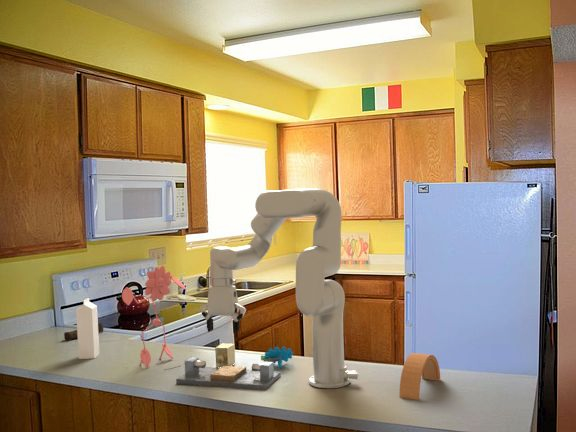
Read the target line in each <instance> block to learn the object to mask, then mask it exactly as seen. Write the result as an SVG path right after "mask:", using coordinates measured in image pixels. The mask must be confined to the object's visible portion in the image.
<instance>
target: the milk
mask: <svg viewBox="0 0 576 432" xmlns="http://www.w3.org/2000/svg"><path fill="white" fill-rule="evenodd" d="M75 312H76V313H75V314H76V330H77V335H78V338H77V350H78V351H77V353H78V354H77V355H78V360H89V359H91V360H92V359H96V358H97V357H98V356H99V355H100V342H99V341H100V339H99V338H100V337H99V333H98V323H99V321H98V320H99V319H98V305H96V304H94V303H93V302H91V301H90V298H89V297H87V298H85V299H84V300H83V304H82V305H80V306H79V307H77V308H75Z"/></svg>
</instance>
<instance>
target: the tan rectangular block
mask: <svg viewBox="0 0 576 432" xmlns="http://www.w3.org/2000/svg"><path fill="white" fill-rule="evenodd" d="M214 349H215V368H216V367H219V368H220V367H223V366H231V365H232V366H234V365H235V364H236V351H235V343H223V342H222V343H221V344H219V345H217V346H216V347H214ZM234 363H235V364H234ZM233 364H234V365H233Z"/></svg>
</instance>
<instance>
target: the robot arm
mask: <svg viewBox="0 0 576 432" xmlns="http://www.w3.org/2000/svg"><path fill="white" fill-rule="evenodd" d="M254 208H255V211H256V215H255V216H254V217H253V219H252V220H251V222H250V228H251V229H252V231H253V232H254V237H253V238H252V239H251V240H250V242H249V243H248V244H246V245H242V246H241V245H240V246H236V247H229V246H214V247H211V248H210V251H209V259H210V261H209V263H210V264H209V265H210V286H209V287H208V292H207V302H206V303H204V304H203V305H201V306H199V311H200V313H201V315H202V317H203V318H204V319H205V321H206V330H207V332H208V333H209V332H212V331H214V319H213V316H217V317H218V316H221V317H231V319H232V320H233V322H232V330H233V331H232V333H233V334H237V333H239V331H240V328H241V327H240V325H241V324H240V321H241V319H242V318H244V316H245V313H246V311H247V308H246V307H245V306H243V305H241V304H239V299H238V298H239V297H238V293H237V287H236V285H234V284H237V279H234V277H233V276H234V275H233V271H237V270H243V269H247V268H252V267H254V266H256V265H257V264H259V263H260V262H261V261H262V259H263V258H264V257H265V256H266V255H267V253H268V252H269V251H270V249H271V247H272V242H273V237H274V236H275V233H277V231H278V230H279V229H280V228H281V226H283V224H284V223H285V222H286V221H287V219H290V218H292V219H293V218H307V217H316V220H315V223H314V227H313V229H312V247H308V248H305V249H303V250H302V251H301V253H299V255H298V257H297V258H296V259H297V260H296V263H295V303H296V306H297V309H298V311H300V313H301V314H302V315H304V316H306V317H312V321H311V331H312V332H311V333H312V334H311V335H312V338H311V339H312V357H313V358H312V359H313V361H312V362H313V363H312V364H313V375H312V376H310V377H309V378H308V383H309V385H311V387H315V388H319V389H337V388H343V387H345V386H347V385H349V384H350V382H351V380H359V372H357V371H356V370H349V369H348V366H347V365H345V346H344V309H345V302H346V301H345V300H346V294H345V291H344V288H343V287H342V284H340V283H339V282H338V281H336V280H333V279H325V277H330V276H333V275H335V274H337V273H338V272H339V270H340V268H341V263H342V237H341V236H342V235H341V234H342V233H341V231H342V208H341V204H340V202H339V200H338V198H337V197H336V196H335V195H334V194H333V193H331V192H330V191H329V190H325V189H322V188H314V187H313V188H294V189H282V190H265V191H263V192H262V193H260V194H259V195H258V196H257V198H256V201H255V207H254ZM206 308H207V310H206ZM239 311H240V313H239Z"/></svg>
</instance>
